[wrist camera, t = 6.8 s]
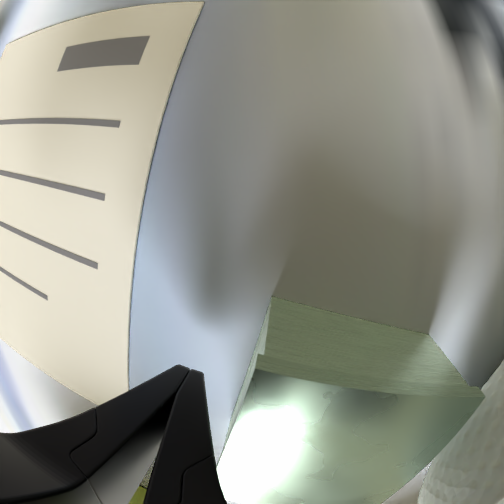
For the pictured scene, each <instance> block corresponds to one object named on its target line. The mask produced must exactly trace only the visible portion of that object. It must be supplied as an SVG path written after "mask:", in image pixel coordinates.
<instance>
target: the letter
mask: <svg viewBox="0 0 504 504" xmlns="http://www.w3.org/2000/svg"><path fill="white" fill-rule="evenodd" d="M203 5H204V2H172V3H159V4H149V5H140V6H133V7H126V8H120V9H115V10H110V11H105V12H100V13H96V14H91V15H87V16H83V17H80V18H76V19H73V20H69V21H66V22H63V23H60V24H57V25H54V26H51V27H48V28H45V29H42V30H40V31H37V32H34V33H32V34H30V35H27V36H25V37H22V38H20V39H18V40H16V41H13V42H11V43H9V44H7V45H6V47H5V49H4V52H3V54H2V57H1V59H0V338H1V339H2V340H3V341H4V342H5V343H6V344H8V345H9V346H10V347H11V348H12V349H14V350H15V351H16V352H17V353H19V354H20V355H21V356H22V357H24V358H25V359H26V360H28V361H29V362H30V363H32V364H33V365H34V366H36V367H37V368H38V369H40V370H41V371H43V372H44V373H46V374H47V375H48V376H50V377H51V378H53V379H54V380H56V381H57V382H59V383H61V384H62V385H64V386H65V387H67V388H68V389H70V390H72V391H73V392H75V393H77V394H78V395H80V396H82V397H84V398H85V399H87V400H89V401H91V402H92V403H94V404H96V405H98V406H99V405H101V404H103V403H105V402H107V401H109V400H111V399H113V398H115V397H117V396H119V395H121V394H123V393H125V392H127V391H129V374H128V356H129V322H130V305H131V292H132V281H133V271H134V261H135V253H136V245H137V238H138V231H139V225H140V218H141V212H142V206H143V201H144V195H145V190H146V185H147V180H148V175H149V171H150V166H151V162H152V157H153V153H154V149H155V145H156V141H157V137H158V133H159V129H160V125H161V122H162V118H163V115H164V111H165V108H166V104H167V101H168V98H169V94H170V91H171V88H172V85H173V82H174V79H175V76H176V73H177V70H178V67H179V64H180V62H181V59H182V56H183V53H184V51H185V48H186V46H187V43H188V40H189V38H190V35H191V33H192V31H193V28H194V26H195V23H196V21H197V19H198V16H199V14H200V12H201V10H202V8H203Z"/></svg>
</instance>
